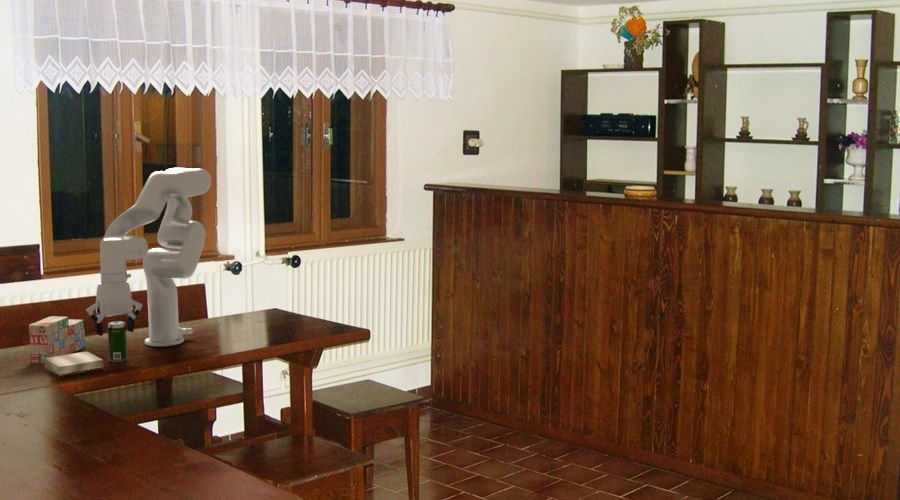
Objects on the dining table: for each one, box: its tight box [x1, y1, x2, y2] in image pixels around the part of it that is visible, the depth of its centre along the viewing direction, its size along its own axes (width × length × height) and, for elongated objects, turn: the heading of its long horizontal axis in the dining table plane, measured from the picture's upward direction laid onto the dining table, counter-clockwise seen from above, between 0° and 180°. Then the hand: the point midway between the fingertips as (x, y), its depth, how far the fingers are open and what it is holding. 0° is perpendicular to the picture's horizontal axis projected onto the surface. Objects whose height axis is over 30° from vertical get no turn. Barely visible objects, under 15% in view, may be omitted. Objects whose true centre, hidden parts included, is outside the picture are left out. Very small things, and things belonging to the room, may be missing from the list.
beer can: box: [107, 320, 128, 362], centre depth 323 cm, size 5×5×12 cm
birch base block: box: [44, 351, 104, 375], centre depth 314 cm, size 13×13×3 cm
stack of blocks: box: [28, 315, 86, 364], centre depth 330 cm, size 21×6×12 cm, turn 169°
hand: (115, 333), depth 322 cm, fingers open, 9 cm apart
